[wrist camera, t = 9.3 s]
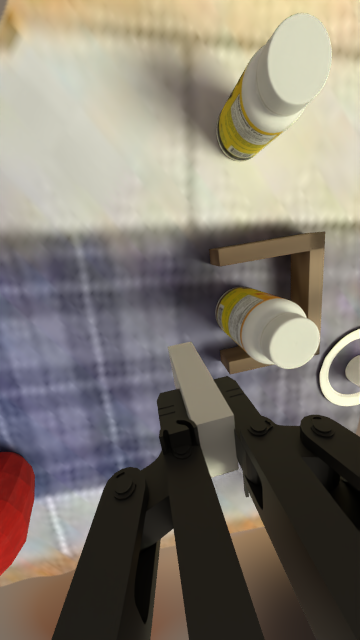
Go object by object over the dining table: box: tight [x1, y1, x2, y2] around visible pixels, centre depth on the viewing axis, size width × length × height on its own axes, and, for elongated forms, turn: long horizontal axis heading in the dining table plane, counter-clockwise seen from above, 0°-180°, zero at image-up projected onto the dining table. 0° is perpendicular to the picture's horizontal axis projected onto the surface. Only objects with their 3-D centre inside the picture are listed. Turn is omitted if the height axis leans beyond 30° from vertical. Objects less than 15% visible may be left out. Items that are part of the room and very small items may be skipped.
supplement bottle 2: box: [215, 287, 320, 369], centre depth 21 cm, size 6×6×10 cm
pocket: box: [209, 232, 325, 374], centre depth 24 cm, size 13×10×3 cm
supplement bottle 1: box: [216, 13, 332, 161], centre depth 17 cm, size 5×5×8 cm
